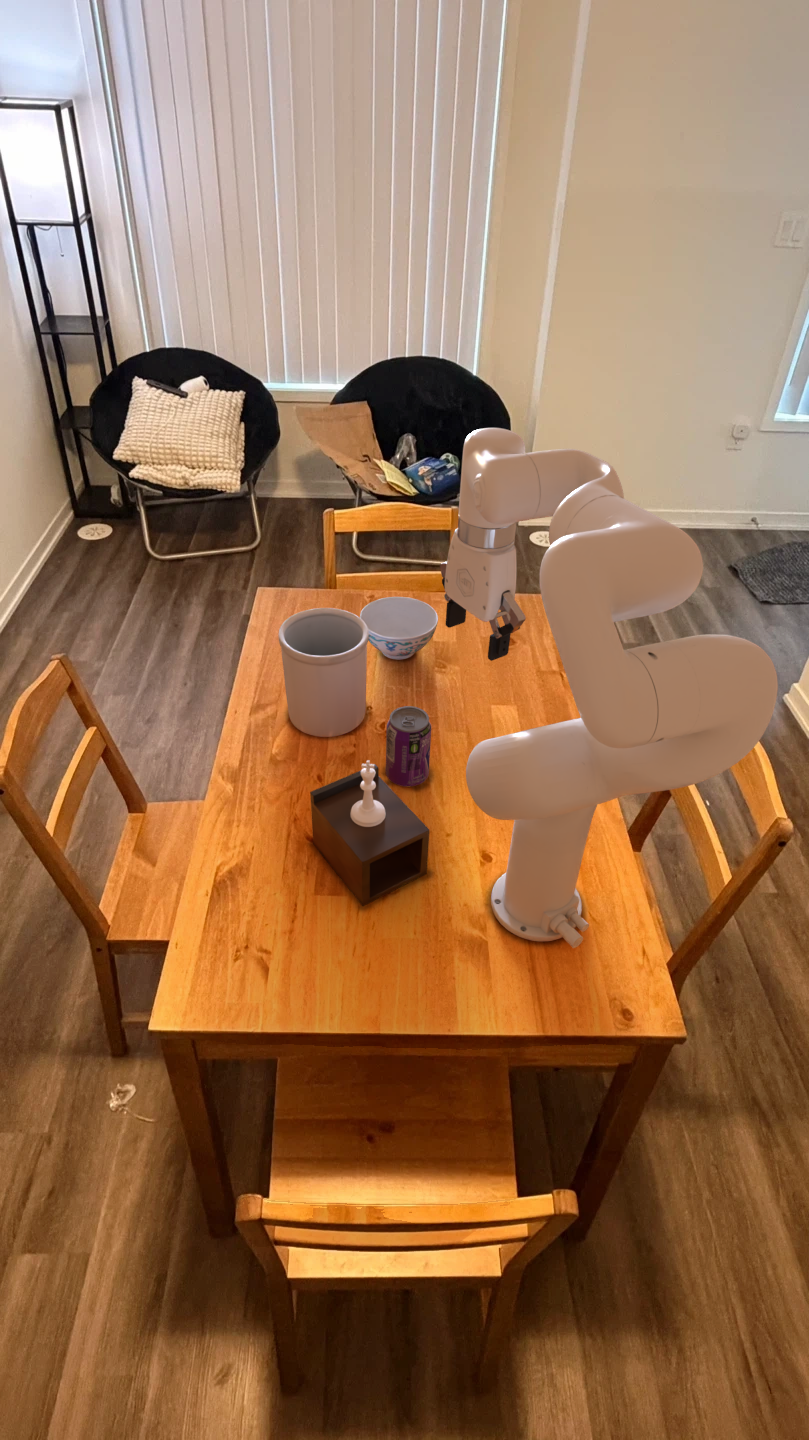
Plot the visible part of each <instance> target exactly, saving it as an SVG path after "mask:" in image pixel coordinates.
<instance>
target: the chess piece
mask: <svg viewBox="0 0 809 1440" xmlns="http://www.w3.org/2000/svg"><path fill="white" fill-rule="evenodd" d="M374 765H375V763H371V760H370V759H366V762H365V763H361V776H362V778H363V781H362V782H361V784H360V787H361V789H362V790H364V796H363V800H360V801H358V802H356V803H355V804H354V805H353V806H352V809H351V813H350V815H351V819H352V820H353V821H354V822H355V823H356V824H358V825H360V826H364V827H372V826H376V825H378V824H380V823H381V822H382V821H383V820H384V819H385V815H386V813H385V808H384V806H383V805H382V804H381V803H380V802H378V801H376V800H373V796H372V790H374V789H375V787H376V784H375V782H374V781H373V778H374V776H375V773H376V772H375V770H374V769H373V768H374Z"/></svg>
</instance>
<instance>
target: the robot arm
mask: <svg viewBox="0 0 809 1440" xmlns="http://www.w3.org/2000/svg"><path fill="white" fill-rule="evenodd" d="M543 518H545V519H546V518H551V519H550V522H549V528H548V543H549V547H548V548H547V549H546V551H545V553H544V554H543V557H542V559H541V563H540V566H539V589H540V595H541V602H542V605H543V608H544V613H545V616H546V618H547V619H546V620H547V622H548V626H549V628H550V631H551V634H552V637H553V640H554V642H555V646H556V648H557V649H556V650H557V652H558V655H559V657H560V658H559V659H560V660H561V663H562V666H563V670H564V673H565V676H566V678H567V681H568V685H569V688H570V691H571V694H572V697H573V700H574V703H575V706H576V708H577V709H576V710H577V711H578V714H579V716H580V717H578V718H573V719H572V718H571V719H568V720H564V721H559V722H555V723H549V724H546V725H543V726H541V725H540V726H538V727H533V728H529V729H524V730H521V731H516V732H513V733H509V734H505V735H501V736H495V737H491V738H488V739H485V740H482V741H480V742H478V743H477V744H476V745H475V746H474V747H473V749H472V751H471V752H470V754H469V756H468V758H467V762H466V767H465V780H466V785H467V789H468V793H469V795H470V796H471V799H472V801H474V803H475V805H476V806H477V807H478V808H479V809H480V811H482V812H483V813H484V814H486V815H488V817H491V818H492V819H496V820H499V821H513V827H512V832H511V839H510V846H509V853H508V859H507V866H506V871H505V872H504V873H503V874H502V875H501V876H500V877H499V878H497V880H496V881H495V883H494V885H493V886H492V887H493V888H492V891H491V897H490V905H491V909H492V912H493V914H494V917H495V919H496V920H497V921H498V922H499V923H500V925H501V926H502V927H503V928H505V929H506V930H507V931H508V932H510V933H512V934H513V935H515V936H517V937H519V938H522V939H525V940H528V941H534V942H551V941H555V940H559V939H562V938H563V940H564V941H565V942H566V943H567V944H568V945H569V946H570V947H571V948H572V949H575V948H578V947H579V946H580V945H581V944H582V942H583V940H584V937H583V936H582V935H581V933H579V932H578V931H577V930H576V929H575V928H577V929H578V930H580V931H581V932H582V933H584V932H585V931H587V930H588V928H589V927H590V924H589V923H588V921H587V920H585V918H583V917H582V912H583V902H582V901H583V900H582V898H581V896H580V893H579V891H578V890H577V883H578V879H579V875H580V870H581V867H582V862H583V857H584V853H585V849H586V845H587V840H588V837H589V833H590V829H591V825H592V821H593V818H594V815H595V812H596V809H597V807H598V805H600V804H605V803H607V802H610V801H613V800H616V799H618V798H621V797H625V796H629V795H638V794H639V795H640V794H641V795H642V794H651V793H656V792H665V791H670V790H677V789H681V788H686V787H689V786H693V785H696V784H700V783H702V782H705V781H707V780H709V779H711V778H714V777H716V776H718V775H720V774H722V773H724V772H725V771H727V770H729V769H731V768H732V767H733V766H735V765H736V764H738V763H739V762H740V761H742V760H743V759H744V758H745V757H746V756H747V755H748V754H750V752H751V751H752V750H753V749H754V748H755V747H756V746H757V744H759V741H760V740H761V739H762V738H763V736H764V734H765V732H766V730H767V727H769V724H770V722H771V719H772V717H773V714H774V711H775V707H776V704H777V703H776V702H777V696H778V690H779V683H778V682H779V681H778V673H777V670H776V668H775V664H774V662H773V660H772V659H771V657H770V655H768V654H767V652H766V651H765V650H764V649H763V648H762V647H760V646H759V645H758V644H756V643H755V642H752V641H751V640H748V639H746V638H744V637H740V636H735V635H730V634H714V633H713V634H712V633H710V634H708V633H707V634H697V635H696V634H695V635H691V636H685V637H681V638H675V639H670V640H665V641H664V640H663V641H659V642H654V643H649V644H644V645H639V646H636V647H631V648H626V649H624V647H623V644H622V642H621V639H620V636H619V633H618V630H617V627H616V625H615V623H618V622H622V621H627V620H628V621H629V620H632V619H639V618H644V617H648V616H653V615H658V614H661V613H665V612H668V611H670V610H672V609H674V608H677V607H678V606H680V605H681V604H683V603H684V602H685V601H686V600H688V599H689V598H690V597H691V596H692V595H693V593H695V591H696V590H697V588H698V586H699V585H700V582H701V580H702V576H703V572H704V562H703V561H704V560H703V557H702V556H703V555H702V553H701V550H700V548H699V546H698V545H697V543H696V542H695V540H694V539H693V538H692V537H691V536H690V535H689V534H688V533H686V532H685V531H684V530H683V529H681V528H679V527H678V526H676V525H675V524H673V523H671V522H669V521H667V520H665V519H663V518H662V517H659V516H657V514H655V513H652V512H650V511H648V510H647V509H644V508H643V507H640V506H639V505H637V504H635V503H633V502H631V501H630V500H628V499H626V498H625V493H624V490H623V485H622V482H621V480H620V477H619V475H618V474H617V471H616V470H615V468H614V466H612V465H611V464H610V463H609V462H607V461H606V460H604V459H601V458H600V457H598V456H596V455H594V454H591V453H589V452H587V451H584V450H581V449H575V448H559V449H549V450H538V451H532V452H526V444H525V441H524V439H523V438H522V436H520V435H519V434H518V433H516V432H515V431H513V430H509V429H506V428H501V427H484V428H479V429H476V430H473V431H472V432H471V433H469V434H468V435H467V436H466V438H465V439H464V443H463V447H462V459H461V474H460V487H459V502H458V517H457V528H455V530H454V532H453V535H452V537H451V540H450V545H449V549H448V553H447V560H446V561H445V562H441V563H439V569H440V574H441V577H442V579H441V584H442V586H443V589H444V592H445V593H444V600H445V601H446V611H445V613H446V614H445V626H446V627H447V628H448V629H450V628H453V627H456V626H459V625H461V624H462V625H463V624H465V623H466V618H467V612H468V613H470V614H471V615H472V616H474V617H475V618H477V619H478V620H480V621H481V622H484V623H487V622H489V625H490V628H491V631H492V633H491V634H490V635H489V640H488V650H487V659H488V660H489V661H491V662H493V661H495V660H498V659H500V658H503V657H506V656H507V655H508V654H509V650H510V643H511V634H513V633H515V632H517V631H519V630H520V629H521V627H522V625H523V624H524V623H525V621H526V618H527V617H526V614H525V613H524V611H523V610H522V608H521V607H520V605H519V604H518V602H517V600H516V590H517V573H518V572H517V571H518V570H517V563H518V562H517V548H516V545H515V542H516V532H517V526H518V522H519V523H520V522H525V521H531V520H536V519H537V520H538V519H543ZM500 617H501V618H502V621H503V624H504V625H502V626H501V625H500V623H499V619H498V618H500Z"/></svg>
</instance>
